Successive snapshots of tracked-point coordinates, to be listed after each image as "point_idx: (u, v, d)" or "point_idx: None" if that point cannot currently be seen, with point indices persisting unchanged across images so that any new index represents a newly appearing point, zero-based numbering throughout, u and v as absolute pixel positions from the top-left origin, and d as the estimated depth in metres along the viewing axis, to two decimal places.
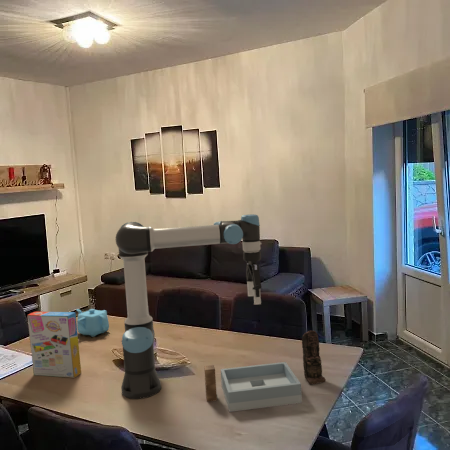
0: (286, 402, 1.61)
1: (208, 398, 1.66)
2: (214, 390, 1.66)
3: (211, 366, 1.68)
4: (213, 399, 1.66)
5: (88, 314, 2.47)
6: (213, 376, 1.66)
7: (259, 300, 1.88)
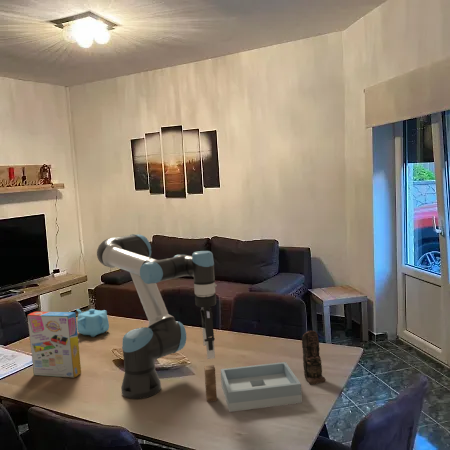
0: (286, 402, 1.61)
1: (208, 398, 1.66)
2: (214, 390, 1.66)
3: (211, 366, 1.68)
4: (213, 399, 1.66)
5: (88, 314, 2.47)
6: (213, 376, 1.66)
7: (213, 354, 1.59)
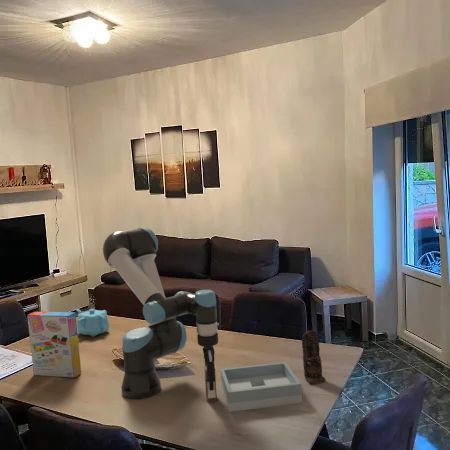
0: (286, 402, 1.61)
1: (208, 398, 1.66)
2: None
3: None
4: (213, 399, 1.66)
5: (88, 314, 2.47)
6: None
7: (213, 393, 1.66)
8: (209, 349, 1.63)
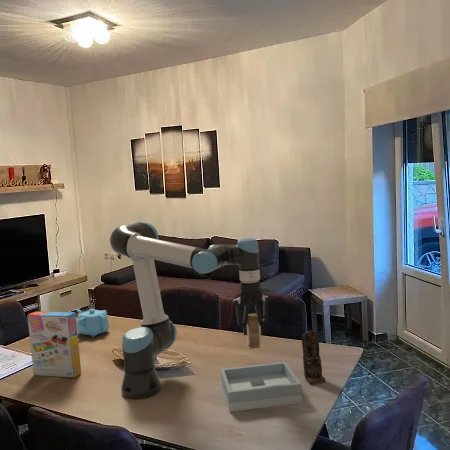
0: (286, 402, 1.61)
1: None
2: (249, 337, 1.69)
3: (254, 315, 1.68)
4: (249, 345, 1.69)
5: (88, 314, 2.47)
6: (248, 323, 1.68)
7: (247, 339, 1.69)
8: (241, 294, 1.68)
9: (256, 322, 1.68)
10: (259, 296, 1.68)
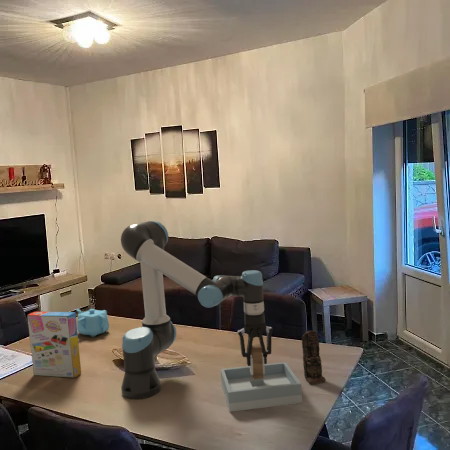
0: (286, 402, 1.61)
1: None
2: (253, 368, 1.70)
3: (258, 346, 1.70)
4: (253, 376, 1.71)
5: (88, 314, 2.47)
6: (252, 354, 1.70)
7: (251, 370, 1.71)
8: (245, 326, 1.70)
9: (260, 353, 1.69)
10: (263, 327, 1.70)
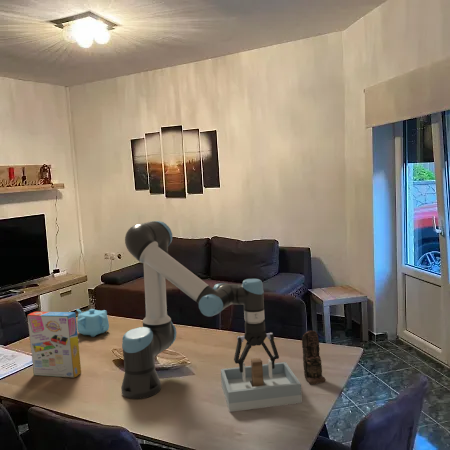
0: (286, 402, 1.61)
1: (252, 386, 1.73)
2: (253, 382, 1.71)
3: (258, 360, 1.71)
4: None
5: (88, 314, 2.47)
6: (252, 368, 1.70)
7: (243, 376, 1.71)
8: None
9: (260, 367, 1.70)
10: (263, 335, 1.70)
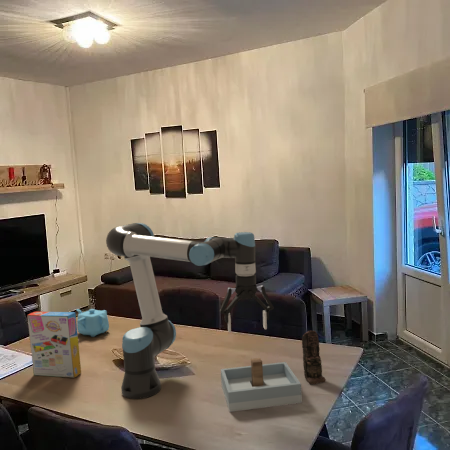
0: (286, 402, 1.61)
1: (252, 386, 1.73)
2: (253, 382, 1.71)
3: (258, 360, 1.71)
4: None
5: (88, 314, 2.47)
6: (252, 368, 1.70)
7: (228, 327, 1.70)
8: (236, 287, 1.69)
9: (260, 367, 1.70)
10: (254, 289, 1.69)
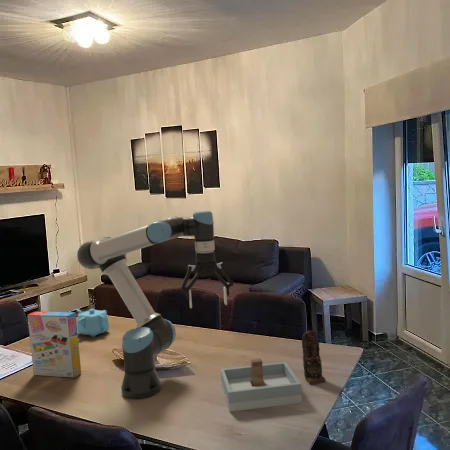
0: (286, 402, 1.61)
1: (252, 386, 1.73)
2: (253, 382, 1.71)
3: (258, 360, 1.71)
4: None
5: (88, 314, 2.47)
6: (252, 368, 1.70)
7: None
8: (196, 264, 1.75)
9: (260, 367, 1.70)
10: (213, 266, 1.75)
